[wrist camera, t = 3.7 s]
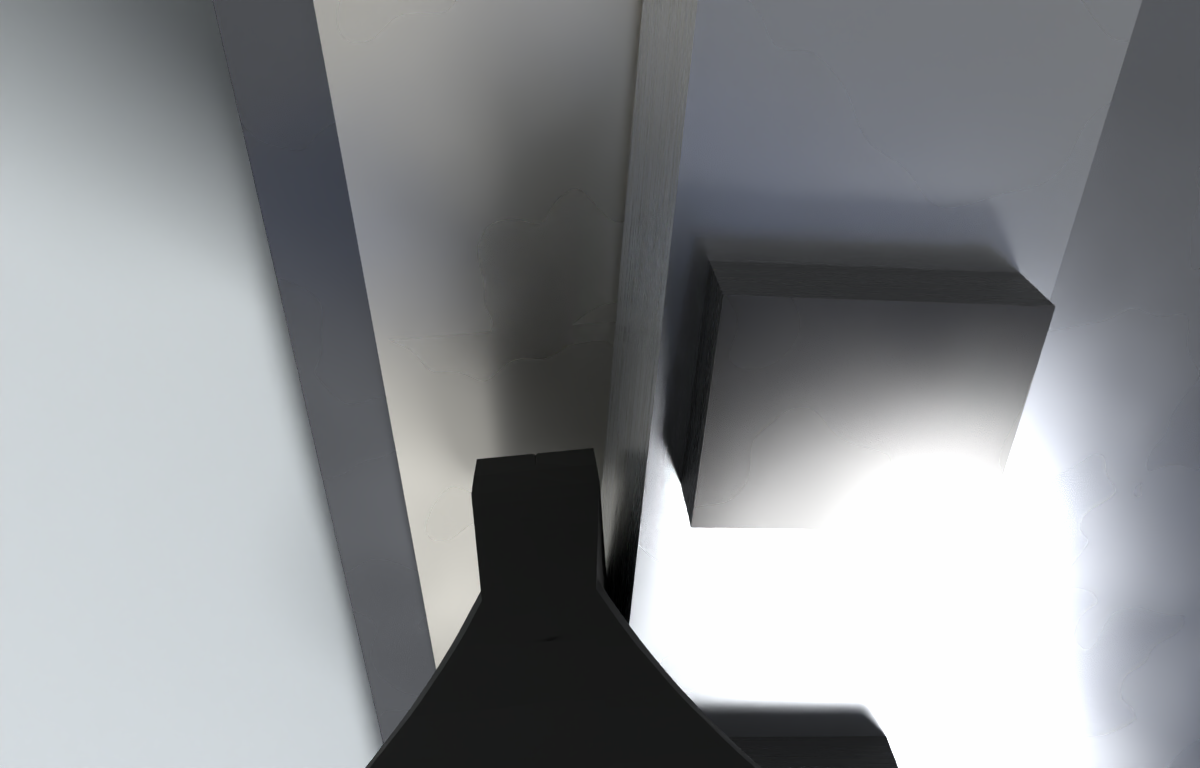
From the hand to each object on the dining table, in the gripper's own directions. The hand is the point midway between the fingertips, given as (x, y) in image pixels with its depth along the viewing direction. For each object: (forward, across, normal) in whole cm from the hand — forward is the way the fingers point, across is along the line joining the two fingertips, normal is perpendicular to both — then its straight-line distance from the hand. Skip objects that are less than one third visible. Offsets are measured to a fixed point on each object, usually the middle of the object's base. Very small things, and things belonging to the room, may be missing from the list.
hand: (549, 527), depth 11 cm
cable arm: (+1, -2, +1) cm, 3 cm away
